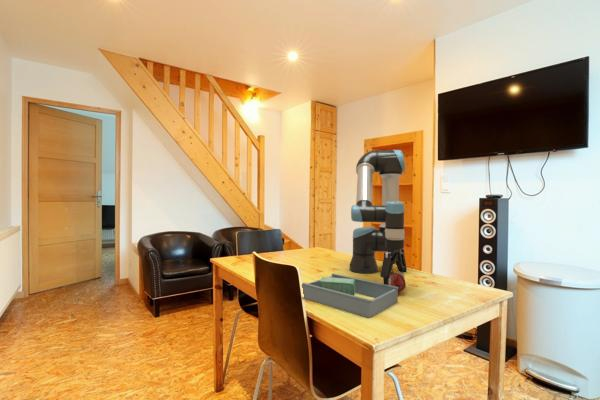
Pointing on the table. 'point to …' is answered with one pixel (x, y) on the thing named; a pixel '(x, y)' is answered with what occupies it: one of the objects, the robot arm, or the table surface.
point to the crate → (351, 303)
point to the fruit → (397, 281)
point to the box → (338, 284)
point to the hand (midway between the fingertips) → (394, 290)
